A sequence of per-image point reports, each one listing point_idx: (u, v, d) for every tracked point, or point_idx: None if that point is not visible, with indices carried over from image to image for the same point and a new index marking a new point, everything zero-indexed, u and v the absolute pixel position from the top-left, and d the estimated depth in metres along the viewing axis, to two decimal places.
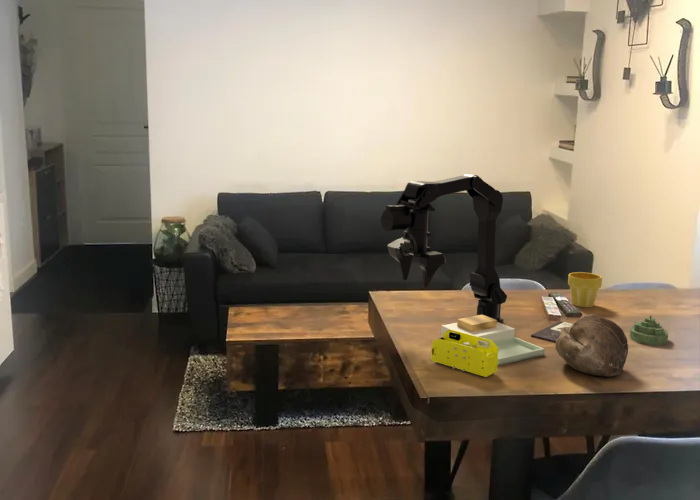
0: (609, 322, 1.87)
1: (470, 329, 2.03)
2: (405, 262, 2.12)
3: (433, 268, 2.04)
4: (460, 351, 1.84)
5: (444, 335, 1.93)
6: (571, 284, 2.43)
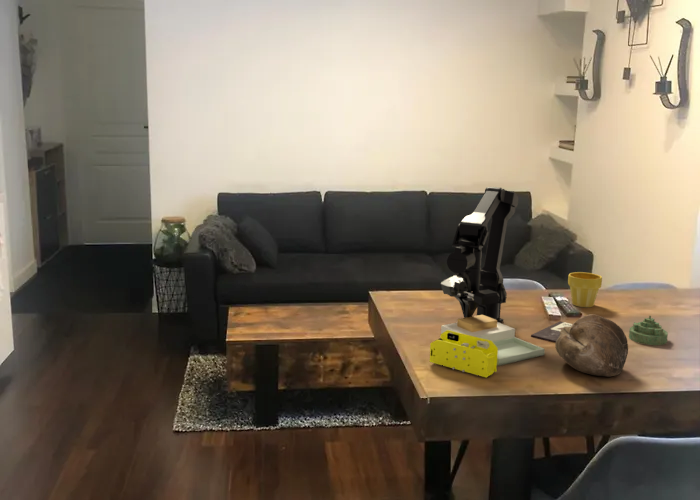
0: (609, 322, 1.87)
1: (470, 329, 2.03)
2: None
3: (476, 302, 2.09)
4: (460, 352, 1.84)
5: (442, 336, 1.92)
6: (571, 284, 2.43)
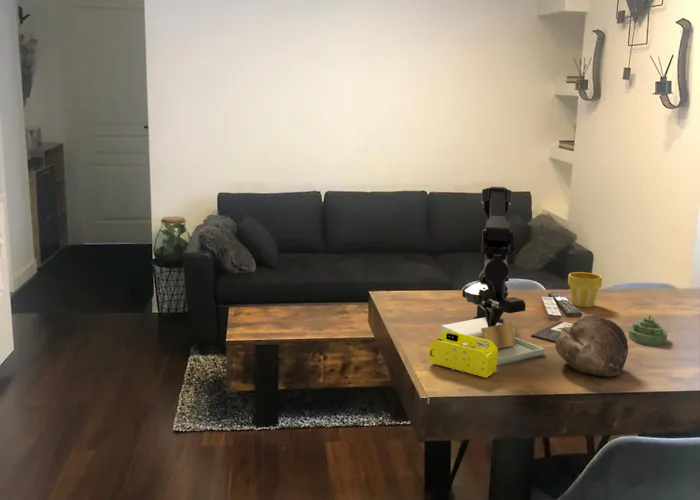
0: (609, 322, 1.87)
1: None
2: None
3: (500, 310, 2.01)
4: (459, 352, 1.83)
5: (441, 336, 1.92)
6: (571, 284, 2.43)
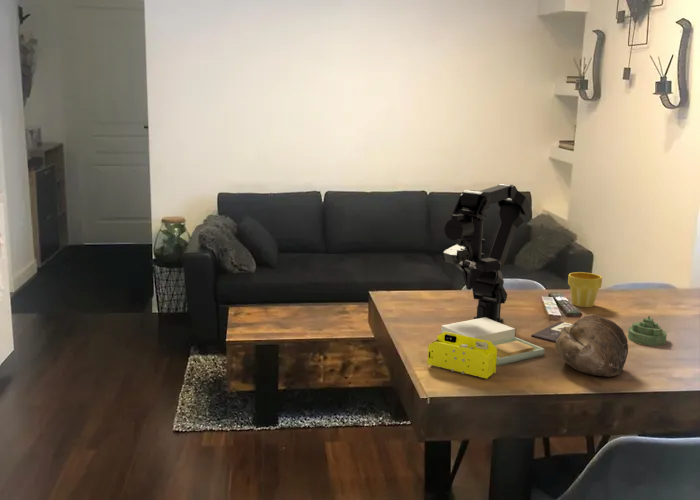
0: (609, 322, 1.87)
1: None
2: None
3: (477, 271, 2.13)
4: (459, 353, 1.83)
5: (439, 338, 1.91)
6: (571, 284, 2.43)
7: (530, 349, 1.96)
